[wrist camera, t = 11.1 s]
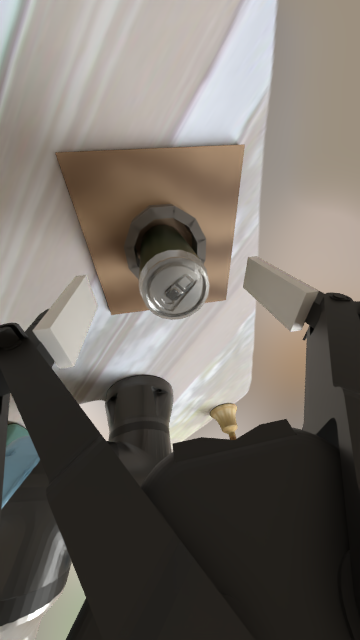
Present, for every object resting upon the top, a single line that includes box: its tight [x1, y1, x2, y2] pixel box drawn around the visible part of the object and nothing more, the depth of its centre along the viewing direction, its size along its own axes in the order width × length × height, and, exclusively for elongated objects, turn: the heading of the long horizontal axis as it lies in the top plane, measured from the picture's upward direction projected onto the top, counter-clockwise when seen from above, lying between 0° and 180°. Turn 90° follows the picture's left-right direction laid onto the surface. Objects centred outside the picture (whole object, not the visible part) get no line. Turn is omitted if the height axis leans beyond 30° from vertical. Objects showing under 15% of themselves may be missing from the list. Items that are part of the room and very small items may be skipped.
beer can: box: [139, 225, 210, 320], centre depth 18 cm, size 5×5×12 cm
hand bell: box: [210, 404, 237, 440], centre depth 48 cm, size 8×8×16 cm
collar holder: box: [56, 145, 245, 315], centre depth 21 cm, size 18×18×4 cm
